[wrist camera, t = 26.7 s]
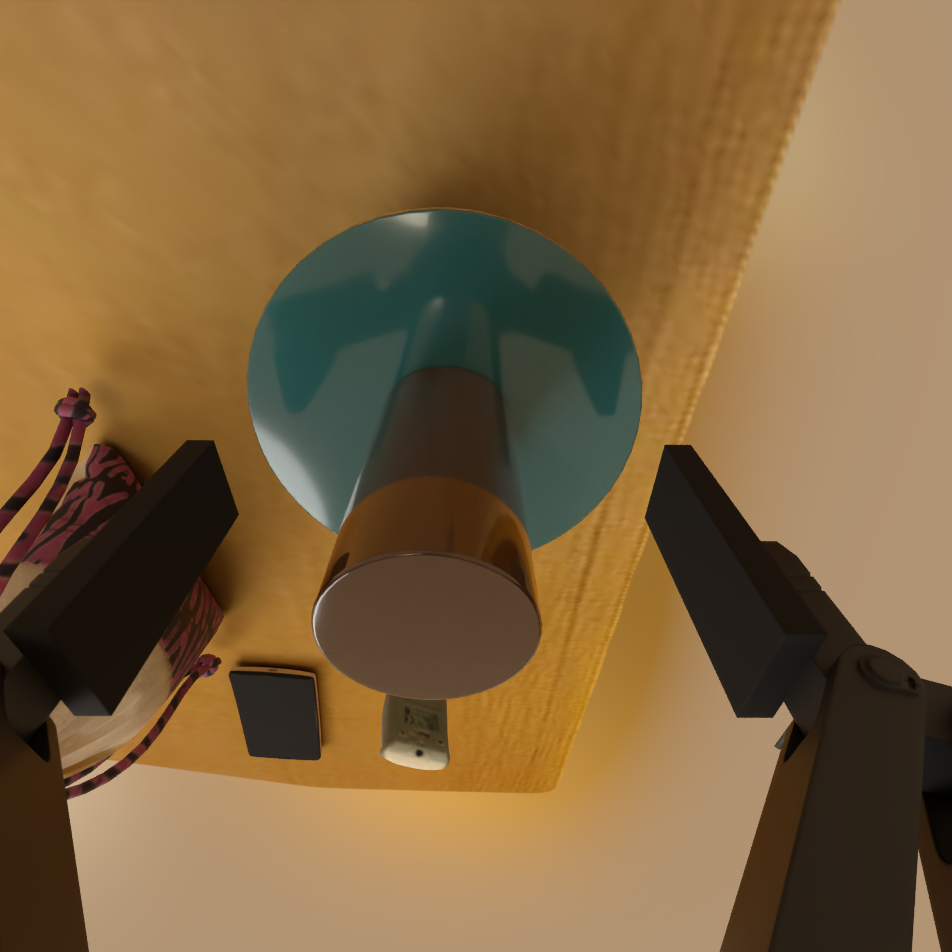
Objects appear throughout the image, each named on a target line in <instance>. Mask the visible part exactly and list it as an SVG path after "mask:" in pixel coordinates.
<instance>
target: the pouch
mask: <svg viewBox="0 0 952 952" xmlns="http://www.w3.org/2000/svg"><path fill="white" fill-rule="evenodd" d="M90 397H91V396H90V393H89V392H88V391H87V390H85V389H84V388H79V394H78V392H76V391H75V390H73V389H71V388H69V391H68V394H67V397H65V398H62V399H60V400H59V401H58V403H57V404H56V406H55V409H54V412H55V413H56V414H57V415H58V416H59V417H60V418H61V421H60V423H59V425H58V428H57V430H56V433H55V435H54V438H53V440H52V443H51V445H50V448H49V450H48V451H47V453H46V454H45V455H44V457H43V458H42V460H41V461H40V462H39V464H38V465H37V466H36V468H35V469H34V471H33V472H32V473H31V475H30V476H29V477H28V479H27V480H26V481H25V482H24V483H23V484H22V485H21V487H20V488H19V489H18V490H17V491H16V492H15V493H14V494H13V496H12V497H11V498H10V499H9V500H8V501H7V502H6V503H5V505H4V506H3V507H2V508H1V509H0V533H1V532H2V530H3V529H4V528H5V527H6V526H7V524H8V523H9V522H10V521H11V520H12V518H13V517H14V516H15V515H16V514H17V512H18V511H19V510H20V509H21V508H22V507H23V505H24V504H25V503H26V502H27V501H28V500H29V498H30V497H31V496H32V495H33V494H34V493H35V492H36V490H37V489H38V488H39V487H40V485H41V484H42V483H43V481H44V480H45V478H46V477H47V475H48V474H49V473H50V471H51V470H52V468H53V467H54V466H55V464H56V463H57V461H58V460H59V458H60V457H61V454H62V452H63V449H64V447H65V444H66V442H67V439H68V437H69V434H70V432H71V429H72V426H73V429H72V433H71V438H70V442H69V446H68V450H67V454H66V457H65V459H64V461H63V464H62V466H61V468H60V471H59V473H58V475H57V477H56V480H55V482H54V484H53V486H52V488H51V490H50V491H49V493H48V495H47V496H46V498H45V500H44V501H43V503H42V505H41V506H40V508H39V510H38V511H37V513H36V514H35V516H34V517H33V519H32V520H31V521H30V523H29V524H28V526H27V527H26V529H25V530H24V531H23V533H22V534H21V536H20V537H19V538H18V540H17V541H16V543H15V544H14V546H13V547H12V548H11V550H10V551H9V553H8V554H7V556H6V557H5V558H4V560H3V561H2V563H1V564H0V612H1V611H2V610H3V609H4V608H5V607H6V606H7V605H8V604H9V603H10V602H11V601H12V600H13V599H14V598H15V597H16V596H17V595H18V594H19V593H20V592H21V591H22V590H23V589H24V588H28V587H29V583H30V582H31V581H33V580H34V579H35V578H36V577H37V576H38V575H39V574H40V573H43V570H44V569H45V568H46V567H47V566H48V565H49V564H50V563H51V562H52V561H53V560H54V559H55V558H56V557H57V556H58V555H59V554H60V553H61V552H62V551H64V550H66V549H67V548H69V547H70V546H72V545H74V544H75V543H77V542H78V541H80V540H82V539H83V538H93V537H94V536H95V535H96V534H97V533H98V532H99V531H100V530H101V529H102V528H103V527H104V526H105V525H106V524H107V522H108V521H109V520H110V519H111V518H112V517H113V516H114V515H115V514H116V513H117V512H118V511H119V510H120V509H121V508H122V507H123V506H124V505H125V504H126V503H127V502H128V501H129V500H130V499H131V498H132V497H133V496H134V495H135V494H136V492H137V491H138V490H139V489H140V488H141V487H142V486H141V485H140V483H139V482H138V480H137V479H136V477H135V475H134V474H133V472H132V470H131V469H130V467H129V466H128V464H127V463H126V461H125V460H124V459H123V458H122V457H121V456H120V455H119V454H118V453H117V452H116V451H115V450H114V448H112V447H111V446H109V445H106V444H94V445H92V446H90V447H89V449H88V451H87V452H86V454H85V456H84V458H83V459H82V461H81V462H80V463H79V464H78V465H77V463H78V459H79V455H80V451H81V446H82V442H83V438H84V433H85V429H86V427H87V426H89V425H90V424H92V423H93V422H94V419H96V415H97V414H96V413H95V411H94V410H92V408H91V407H90V406H89V403H90ZM76 465H77V466H76ZM223 617H224V616H223V612H222V609H221V608H220V606H219V604H218V603H217V602H216V600H215V599H214V597H213V596H212V594H211V593H210V591H209V590H208V588H207V587H206V585H205V583H204V582H203V580H202V579H201V577H199V578H198V580H197V582H196V583H195V585H194V586H193V588H192V590H191V591H190V593H189V594H188V596H187V597H186V599H185V601H184V602H183V604H182V605H181V607H180V609H179V610H178V612H177V613H176V615H175V616H174V618H173V620H172V621H171V623H170V624H169V626H168V627H167V629H166V631H165V632H164V634H163V635H162V637H161V639H160V640H159V642H158V643H157V645H156V646H155V648H154V650H153V651H152V653H151V654H150V656H149V658H148V659H147V661H146V662H145V664H144V665H143V667H142V669H141V670H140V672H139V673H138V675H137V677H136V678H135V680H134V681H133V683H132V684H131V686H130V688H129V689H128V691H127V692H126V694H125V696H124V697H123V699H122V700H121V702H120V703H119V705H118V707H117V708H116V710H115V711H114V713H113V715H112V716H74V715H73V714H72V713H71V711H70V710H69V709H68V708H67V707H66V705H65V704H64V703H63V702H62V701H60V702H59V703H58V705H57V706H56V707H55V709H54V710H53V711H52V713H51V714H50V715H49V716H50V717H51V718H52V720H53V722H54V723H55V725H56V729H57V736H58V743H59V750H60V757H61V763H62V770H63V777H64V784H65V787H66V786H69V785H70V784H72V783H74V782H75V781H77V780H79V779H80V778H82V777H84V776H86V775H87V774H89V773H91V772H92V771H93V770H94V769H96V768H97V767H98V766H99V765H101V764H102V763H103V762H104V761H105V760H107V759H108V758H109V757H110V756H111V755H112V754H113V753H114V752H116V751H117V750H118V749H119V748H121V747H122V746H123V745H124V744H126V743H127V742H128V741H129V740H131V739H132V738H133V737H134V736H135V735H136V734H137V733H138V732H139V731H140V730H141V729H142V728H143V727H144V726H145V725H146V724H147V723H148V721H149V720H150V719H151V718H152V717H153V716H154V715H155V713H156V712H157V711H158V710H159V709H160V707H161V706H162V705H163V704H164V703H165V701H166V700H167V699H168V698H169V696H170V695H171V694H172V692H173V691H174V690H175V689H176V687H177V686H178V685H179V683H180V682H181V681H182V679H183V678H185V677H186V676H188V675H190V674H191V675H190V676H189V677H188V678H187V680H186V681H185V682H184V683H183V685H182V686H181V687H180V688H179V690H178V691H177V693H176V694H175V696H174V697H173V699H172V700H171V702H170V704H169V705H168V707H167V708H166V710H165V711H164V713H163V714H162V715H161V717H160V718H159V720H158V721H157V723H156V724H155V726H154V727H153V728H152V729H151V731H150V732H149V733H148V734H147V736H146V737H145V738H144V739H143V741H142V742H141V743H140V744H139V745H138V746H137V747H136V748H135V749H134V750H132V751H131V752H130V753H129V754H128V755H127V756H126V757H125V758H124V759H123V760H121V761H120V762H118V763H117V764H115V765H114V766H112V767H111V768H109V769H108V770H107V771H105V772H104V773H102V774H100V775H98V776H96V777H94V778H92V779H90V780H88V781H86V782H84V783H82V784H79V785H76V786H73V787H69V788H66V789H65V791H66V798H67V800H68V799H70V798H74V797H77V796H80V795H83V794H86V793H88V792H90V791H91V790H93V789H95V788H97V787H99V786H101V785H103V784H105V783H107V782H109V781H110V780H112V779H113V778H114V777H116V776H117V775H119V774H120V773H121V772H123V771H124V770H126V769H127V768H128V767H130V766H131V765H132V764H133V763H134V762H135V761H136V760H137V759H138V758H139V757H140V756H141V755H142V754H143V753H144V752H145V751H146V750H147V749H148V748H149V747H150V746H151V744H152V743H153V742H154V740H155V739H156V738H157V736H158V735H159V734H160V733H161V731H162V730H163V728H164V727H165V725H166V724H167V722H168V721H169V719H170V717H171V716H172V714H173V713H174V711H175V710H176V708H177V706H178V705H179V703H180V702H181V700H182V698H183V697H184V695H185V694H186V693H187V691H188V690H189V689H190V687H191V686H192V685H193V683H194V682H195V681H196V680H197V679H198V678H199V677H209V676H211V675H213V674H214V673H215V672H216V671H217V669H218V665H219V664H221V659H220V658H218V657H217V658H216V656H215V655H212V654H205V655H202V656H201V657H199V656H200V654H201V653H202V651H203V650H204V649H205V647H206V646H207V644H208V643H209V642H210V640H211V639H212V637H213V636H214V635H215V633H216V632H217V630H218V628H219V626H220V624H221V622H222V620H223ZM198 657H199V658H198ZM195 661H196V662H195ZM194 663H195V664H194Z"/></svg>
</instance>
